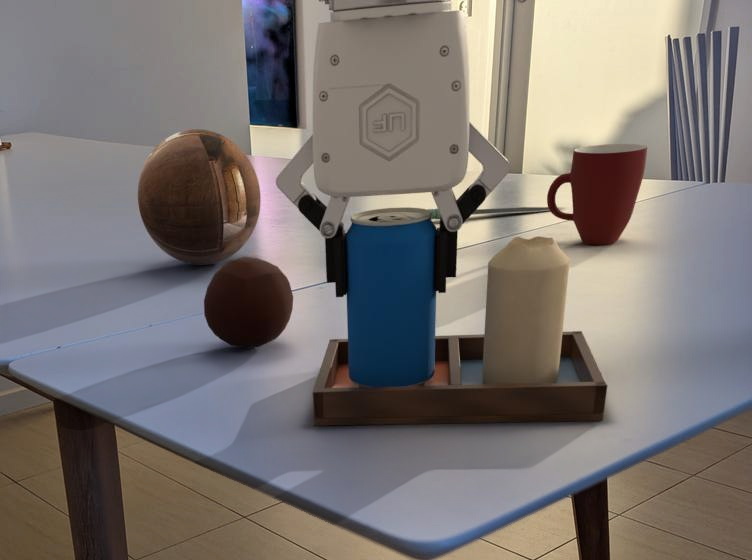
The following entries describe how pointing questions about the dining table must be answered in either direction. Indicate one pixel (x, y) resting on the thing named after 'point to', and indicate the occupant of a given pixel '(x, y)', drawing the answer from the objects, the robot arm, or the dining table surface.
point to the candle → (525, 312)
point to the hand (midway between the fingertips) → (391, 288)
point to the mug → (602, 190)
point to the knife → (495, 211)
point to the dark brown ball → (248, 302)
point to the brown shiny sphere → (199, 197)
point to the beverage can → (391, 297)
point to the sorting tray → (462, 389)
